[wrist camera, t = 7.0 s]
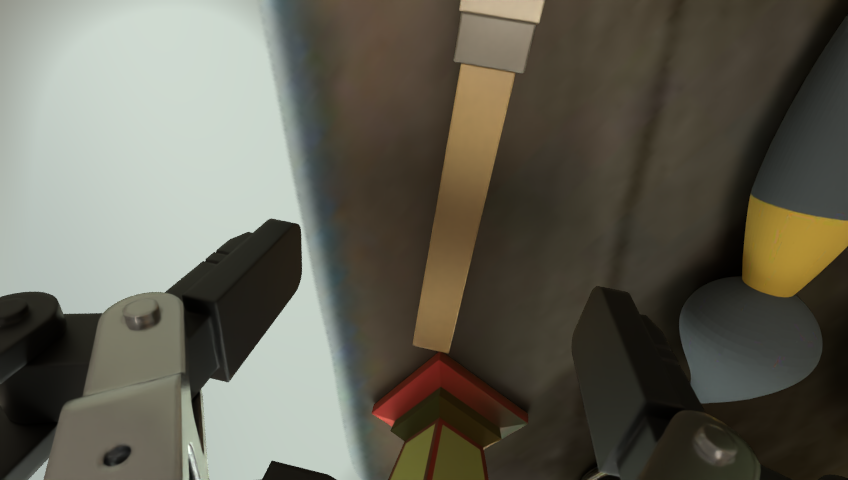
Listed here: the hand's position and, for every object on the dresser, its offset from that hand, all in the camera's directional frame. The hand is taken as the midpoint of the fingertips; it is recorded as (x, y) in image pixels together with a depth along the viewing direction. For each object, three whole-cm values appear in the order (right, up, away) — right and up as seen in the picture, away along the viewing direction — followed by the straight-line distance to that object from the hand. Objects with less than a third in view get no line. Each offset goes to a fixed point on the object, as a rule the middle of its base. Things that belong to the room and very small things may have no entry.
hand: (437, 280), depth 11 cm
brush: (+2, +4, +8) cm, 10 cm away
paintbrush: (+15, +3, +7) cm, 16 cm away
